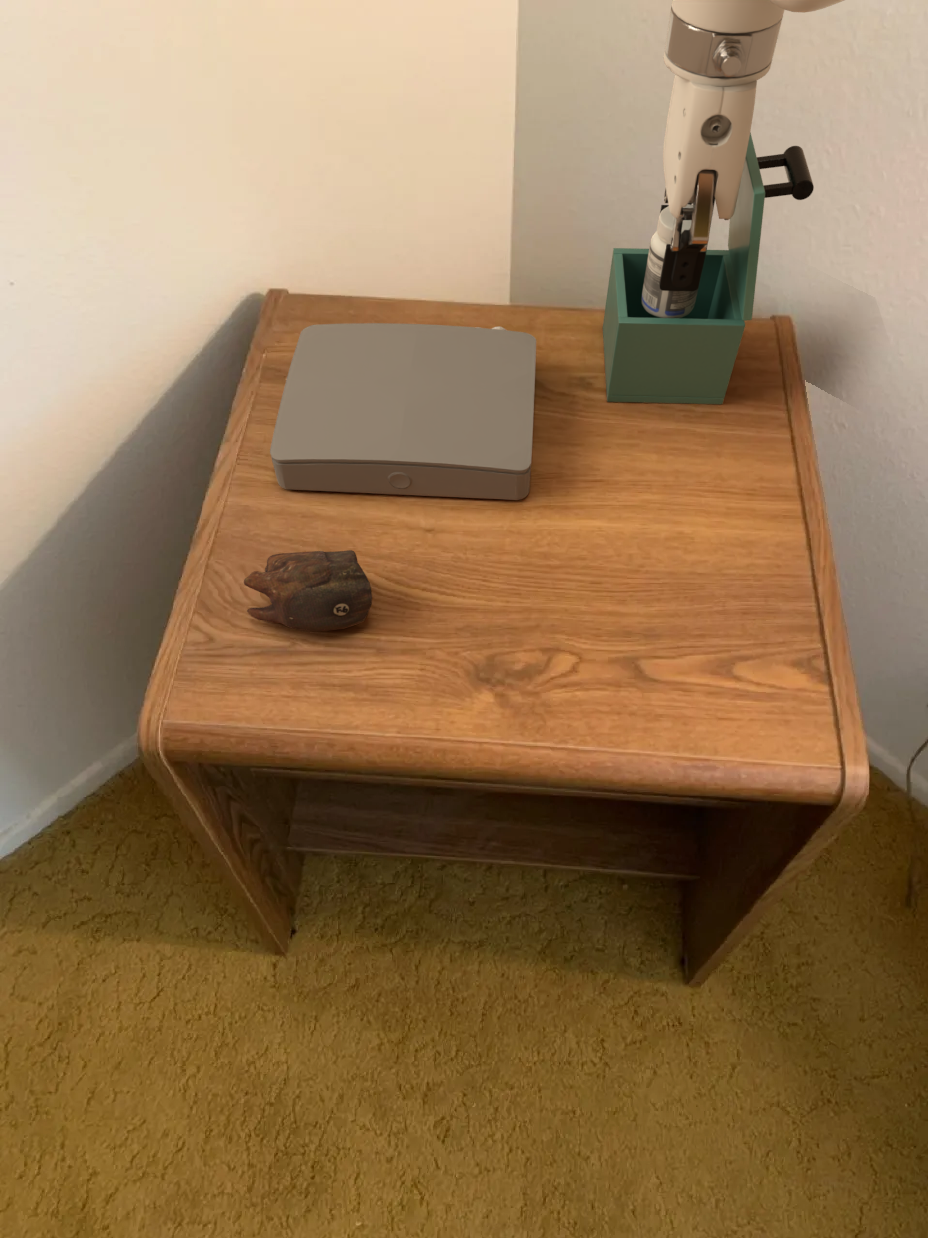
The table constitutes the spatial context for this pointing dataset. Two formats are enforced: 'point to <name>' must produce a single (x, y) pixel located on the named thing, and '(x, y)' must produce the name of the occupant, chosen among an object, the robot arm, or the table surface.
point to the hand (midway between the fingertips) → (675, 266)
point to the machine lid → (760, 214)
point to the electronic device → (408, 411)
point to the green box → (670, 336)
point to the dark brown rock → (313, 590)
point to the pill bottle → (652, 295)
